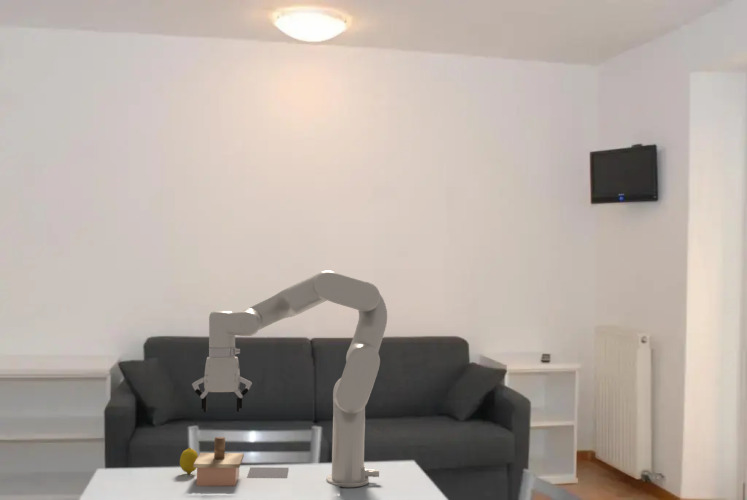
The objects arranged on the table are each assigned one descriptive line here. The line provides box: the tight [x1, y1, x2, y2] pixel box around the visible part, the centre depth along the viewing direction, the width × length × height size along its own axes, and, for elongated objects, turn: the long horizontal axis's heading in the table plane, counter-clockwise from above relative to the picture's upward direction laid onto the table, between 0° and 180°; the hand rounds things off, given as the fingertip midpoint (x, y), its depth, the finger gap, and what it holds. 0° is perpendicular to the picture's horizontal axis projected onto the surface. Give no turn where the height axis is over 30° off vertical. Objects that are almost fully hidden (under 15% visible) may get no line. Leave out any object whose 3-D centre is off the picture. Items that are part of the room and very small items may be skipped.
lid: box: [193, 436, 245, 469], centre depth 234 cm, size 13×13×7 cm
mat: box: [246, 466, 289, 479], centre depth 244 cm, size 12×12×1 cm
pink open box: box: [196, 467, 240, 487], centre depth 234 cm, size 11×11×6 cm
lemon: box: [179, 447, 199, 475], centre depth 242 cm, size 6×6×8 cm
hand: (222, 411), depth 234 cm, fingers open, 9 cm apart
